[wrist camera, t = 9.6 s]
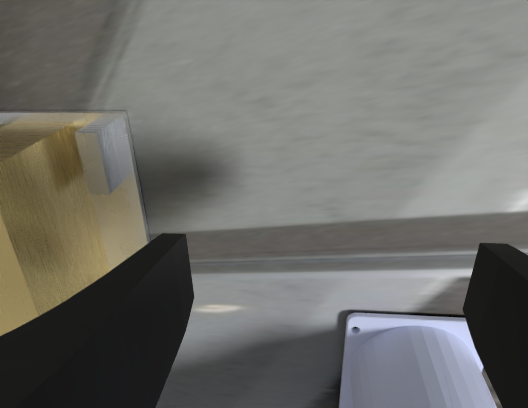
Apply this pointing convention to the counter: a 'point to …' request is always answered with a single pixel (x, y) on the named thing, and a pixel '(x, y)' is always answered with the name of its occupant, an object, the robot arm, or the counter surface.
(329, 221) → the counter surface
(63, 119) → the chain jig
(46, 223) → the brass plaque on stand
